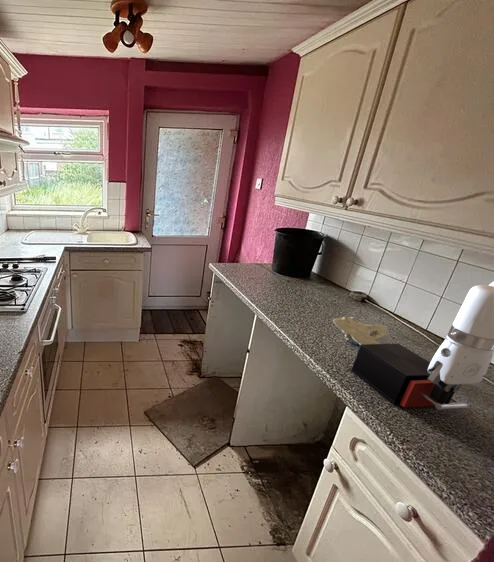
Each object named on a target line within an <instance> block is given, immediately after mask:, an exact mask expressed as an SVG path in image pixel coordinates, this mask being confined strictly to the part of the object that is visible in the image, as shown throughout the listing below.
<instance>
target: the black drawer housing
mask: <svg viewBox="0 0 494 562" xmlns="http://www.w3.org/2000/svg"><path fill="white" fill-rule="evenodd" d="M354 359H355V360H354V362H353V365H352V367H351V372H352V373H354V374H355V375H356V376H357V377H359V379H361V380H362V381H364V382H365V383H366V384H368V385H369V386H370V387H371V388H372V389H373V390H375V391H376V392H377V393H378V394H379V395H381V396H382V397H383V398H385V400H387V401H388V402H390V403H391V404H392V405H394V406H395V405H400V402H401V400H402V399H399V397H400V395H401V393H402V391H403V388H404V386H405V384H406V382H407V380H408V378H420V377H429V376H430V375H431V374H430V373H428V367H429V364H430V362H431V361H429V360H427V359H426V358H424V357H422V356H420V355H419V354H417V353H415V352H413V351H412V350H410V349H408V348H407V347H405V346H403V345H402V344H400V343H387V344H362V345H359V348H358V351H357V354H356V357H355V358H354ZM398 399H399V400H398Z"/></svg>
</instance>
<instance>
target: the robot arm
mask: <svg viewBox="0 0 494 562" xmlns="http://www.w3.org/2000/svg"><path fill="white" fill-rule="evenodd" d="M493 357H494V280H493V281H492V282H491V283H489V284H477V285H474V286H472V287H470V289H469V291H468V292H467V294H466V296H465V298H464V300H463V302H462V304H461V306H460V308H459V311H458V312H457V314H456V316H455V318H454V320H453V322H452V324H451V326H450V328H449V330H448V332H447V335H446V338H445V339H444V341H443V342H442V343H441V345H440V346H439V347H438V349H437V350H436V352H435V353H434V355H433V357H432V359H431V360H430V361H429V362H430V364H429V367H428V373H430V374H431V375H430V376H429V377H428V380H429V381H430V382H432V383H434V384H435V386H434V388H433V390H432V392H431V394H430V397H431V398H433V399H434V400H436V401H437V402H438V403H451V401H452V400H451V399H452V397H453V398H454V395H455V393H456V392H458V391H459V390H460V388H461V387H462V385H475V384H480V383H482V381H483V380H484V378H485V376H486V374H487V371H488V370H489V367H490V365H491V362H492V360H493Z"/></svg>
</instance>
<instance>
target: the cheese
mask: <svg viewBox="0 0 494 562" xmlns="http://www.w3.org/2000/svg"><path fill="white" fill-rule="evenodd" d="M356 319H357V317H356V316H353V317H352V316H350V317H347V316H343V317H337V318H334V319H333V320H332V321H333V323H334V324H335V326H336V327H338V329H340V331H342V333H343V335H344V337H345V340H346V342H351V343H356V344H359V346H361V345H362V344H389V342H390V339H391V332H390V330H389V329H388V328H387V327H386V325H384V324H378V323H377V324H376V323H375V324H366V323H363V322H360V321H358V322H357V320H356Z"/></svg>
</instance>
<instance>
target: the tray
mask: <svg viewBox="0 0 494 562" xmlns="http://www.w3.org/2000/svg"><path fill="white" fill-rule="evenodd" d="M434 386H435V384H434V383H432V382H430V381H429V380H428V377H420V378H408V380H407V382H406V384H405V386H404V388H403V391H402V393H401V395H400V397H399V399H402V400H401V402H400V404H399V405H400V406H401V407H403V408H420V407H421V408H422V407H435V409H436V410H438V411H453V410H454V411H455V410H457V411H458V410H467V409H468V407H469V406H468V404H467V403H466V402H464V401H460V400H457V399H456V398H455V397H454V396H453V397H452V399H451V400H450V401H451V402H449V403H438V402H437V401H436V400H434V399H433V398H431V397H430V394H431V392H432V390H433V388H434ZM399 399H398V400H399Z"/></svg>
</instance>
